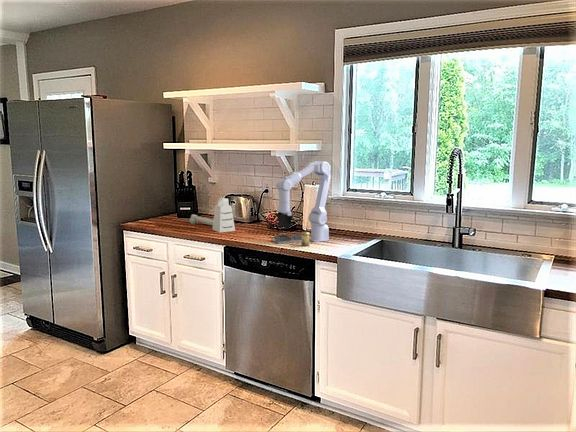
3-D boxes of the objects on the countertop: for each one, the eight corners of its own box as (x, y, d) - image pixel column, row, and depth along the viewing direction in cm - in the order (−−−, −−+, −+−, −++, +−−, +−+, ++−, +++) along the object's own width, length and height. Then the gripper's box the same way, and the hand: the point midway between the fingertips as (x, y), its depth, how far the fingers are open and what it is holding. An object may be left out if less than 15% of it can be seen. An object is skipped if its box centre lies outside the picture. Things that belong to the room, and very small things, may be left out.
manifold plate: (300, 238, 275) (300, 233, 274) (307, 241, 267) (307, 235, 266) (271, 240, 267) (271, 235, 267) (277, 243, 259) (277, 238, 259)
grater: (227, 228, 306) (226, 197, 302) (235, 230, 297) (234, 198, 294) (212, 229, 300) (211, 198, 297) (219, 232, 291) (219, 199, 288)
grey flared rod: (215, 221, 308) (188, 213, 321) (214, 231, 309) (187, 222, 322) (221, 220, 312) (193, 212, 325) (220, 230, 313) (193, 221, 327)
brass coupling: (307, 244, 259) (307, 231, 257) (311, 246, 254) (311, 233, 253) (299, 245, 257) (299, 232, 256) (303, 246, 253) (303, 233, 251)
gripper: (272, 200, 258) (272, 225, 260) (282, 204, 245) (282, 230, 247) (284, 200, 261) (284, 224, 263) (295, 203, 248) (295, 229, 250)
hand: (284, 227), depth 255 cm, fingers open, 7 cm apart
